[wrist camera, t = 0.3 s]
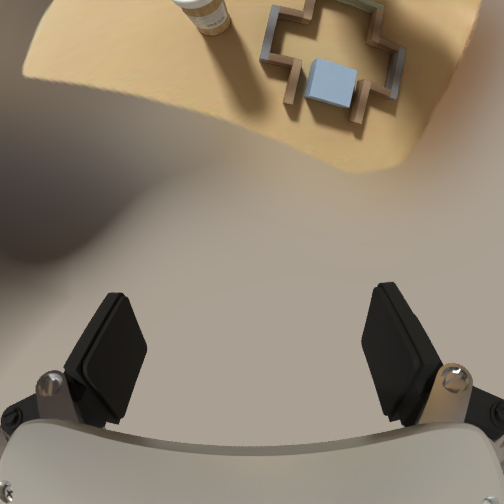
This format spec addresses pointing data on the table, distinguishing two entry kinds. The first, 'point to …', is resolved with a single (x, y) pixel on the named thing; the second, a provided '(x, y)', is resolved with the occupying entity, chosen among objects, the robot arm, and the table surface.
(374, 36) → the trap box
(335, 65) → the slate block
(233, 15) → the table surface
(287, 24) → the table surface
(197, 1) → the sprinkles bottle
